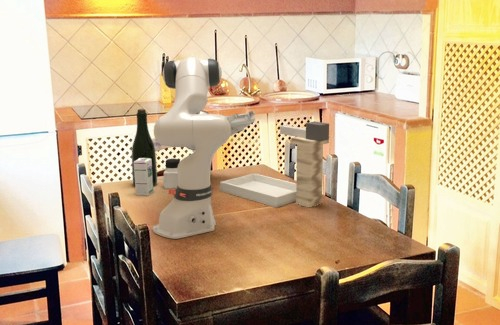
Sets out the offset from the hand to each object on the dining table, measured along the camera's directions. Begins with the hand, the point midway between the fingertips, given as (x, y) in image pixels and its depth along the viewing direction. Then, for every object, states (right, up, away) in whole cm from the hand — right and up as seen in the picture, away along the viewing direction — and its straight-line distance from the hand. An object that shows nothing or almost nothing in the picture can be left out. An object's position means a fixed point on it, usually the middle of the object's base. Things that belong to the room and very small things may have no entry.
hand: (245, 113), depth 252 cm
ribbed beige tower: (+25, -36, -17) cm, 47 cm away
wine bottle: (-43, -30, +12) cm, 54 cm away
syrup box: (-41, -33, -1) cm, 53 cm away
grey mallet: (+22, -10, -21) cm, 32 cm away
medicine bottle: (-31, -31, +9) cm, 44 cm away
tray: (+8, -33, -3) cm, 34 cm away
